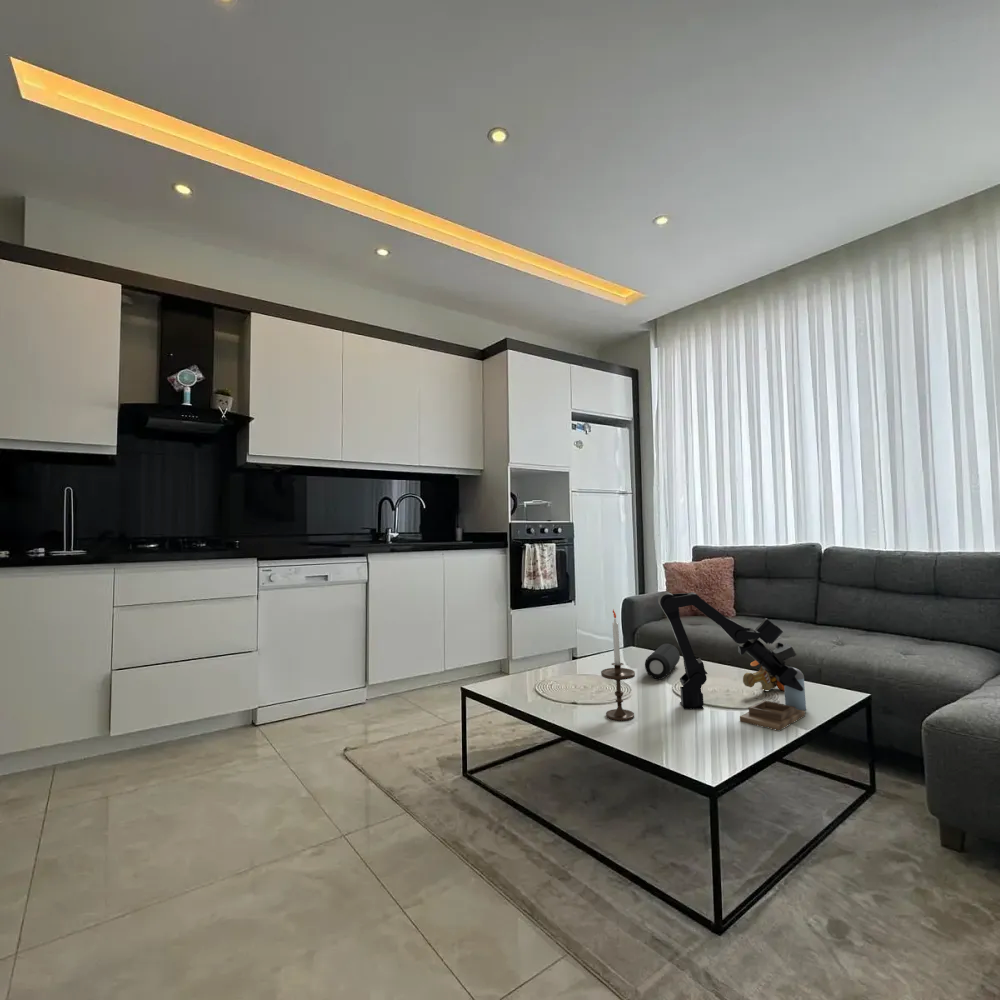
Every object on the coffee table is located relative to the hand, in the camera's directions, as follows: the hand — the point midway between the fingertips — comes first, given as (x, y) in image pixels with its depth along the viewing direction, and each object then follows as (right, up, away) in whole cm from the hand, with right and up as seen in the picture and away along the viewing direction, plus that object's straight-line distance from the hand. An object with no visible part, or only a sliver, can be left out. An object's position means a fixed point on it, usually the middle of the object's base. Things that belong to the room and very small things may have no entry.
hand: (798, 687), depth 183 cm
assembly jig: (-13, -7, -9) cm, 17 cm away
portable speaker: (-30, -11, +49) cm, 59 cm away
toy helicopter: (-2, -8, +18) cm, 20 cm away
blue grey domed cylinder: (-1, -7, 0) cm, 7 cm away
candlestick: (-59, -9, -1) cm, 60 cm away
